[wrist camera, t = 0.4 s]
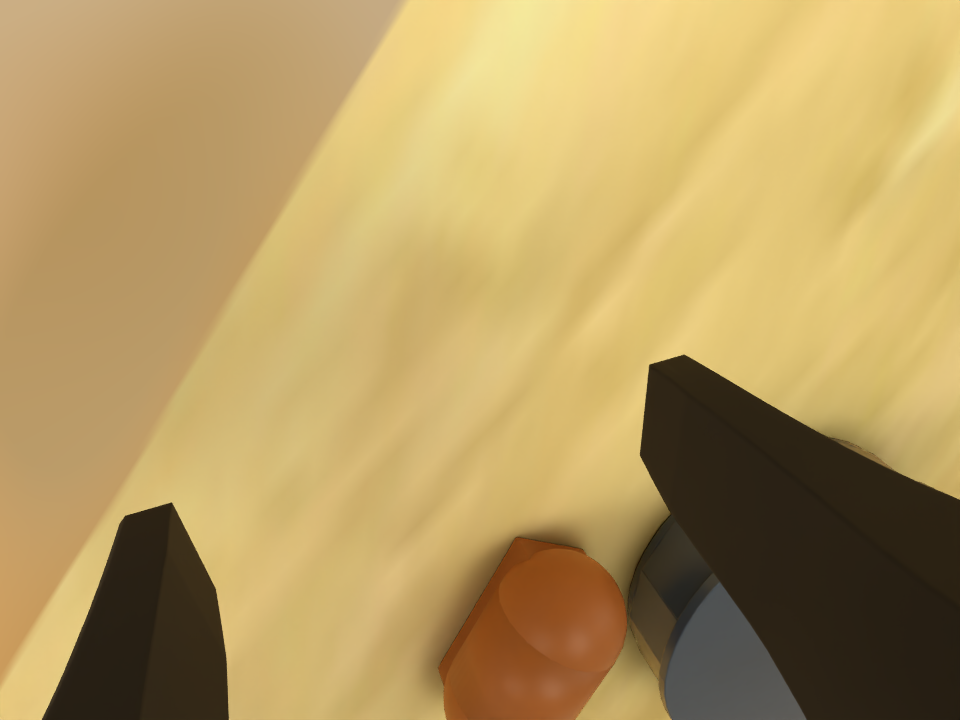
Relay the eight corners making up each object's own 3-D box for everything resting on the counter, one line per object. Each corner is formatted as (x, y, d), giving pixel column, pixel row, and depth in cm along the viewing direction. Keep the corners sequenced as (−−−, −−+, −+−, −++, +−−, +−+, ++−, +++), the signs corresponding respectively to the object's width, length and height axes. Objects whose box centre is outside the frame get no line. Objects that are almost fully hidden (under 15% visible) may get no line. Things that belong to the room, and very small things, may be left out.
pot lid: (809, 727, 37) (879, 817, 33) (587, 718, 30) (644, 829, 26) (999, 502, 32) (1104, 577, 29) (790, 432, 26) (892, 518, 22)
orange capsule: (508, 690, 32) (553, 798, 28) (408, 684, 30) (443, 800, 26) (611, 531, 29) (677, 626, 26) (510, 511, 27) (566, 612, 23)
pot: (772, 672, 39) (817, 731, 36) (574, 654, 33) (610, 723, 30) (932, 470, 35) (998, 519, 32) (741, 404, 28) (802, 457, 26)
